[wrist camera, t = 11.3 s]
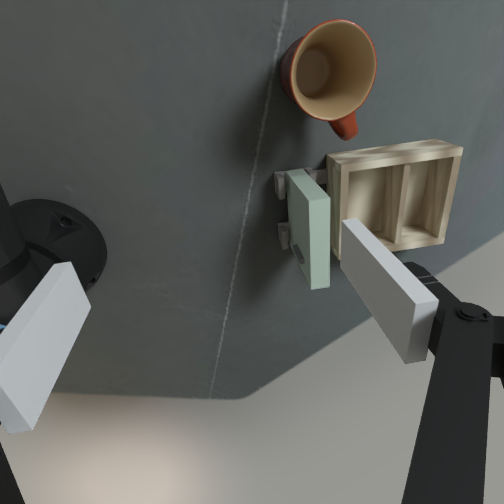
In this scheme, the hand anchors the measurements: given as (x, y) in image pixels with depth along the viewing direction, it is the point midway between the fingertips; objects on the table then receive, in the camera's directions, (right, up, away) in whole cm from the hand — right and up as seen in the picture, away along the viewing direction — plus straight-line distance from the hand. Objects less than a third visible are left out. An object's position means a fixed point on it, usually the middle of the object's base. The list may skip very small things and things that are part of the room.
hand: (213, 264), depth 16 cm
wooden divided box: (+17, +9, +34) cm, 39 cm away
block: (+9, +7, +33) cm, 35 cm away
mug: (+9, +22, +26) cm, 35 cm away
